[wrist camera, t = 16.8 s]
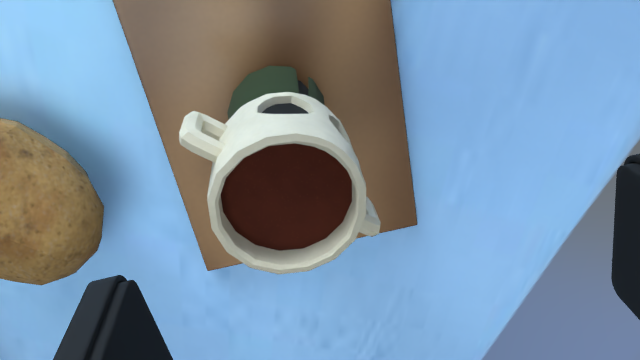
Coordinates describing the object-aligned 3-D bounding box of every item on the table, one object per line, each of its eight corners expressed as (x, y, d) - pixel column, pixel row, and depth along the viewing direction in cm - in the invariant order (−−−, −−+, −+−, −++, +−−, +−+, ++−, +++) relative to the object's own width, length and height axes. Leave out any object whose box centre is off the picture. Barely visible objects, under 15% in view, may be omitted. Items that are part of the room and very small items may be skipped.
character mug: (375, 104, 36) (435, 197, 24) (319, 188, 38) (349, 310, 26) (226, 18, 32) (212, 78, 21) (175, 117, 34) (136, 221, 23)
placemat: (376, -102, 31) (378, -103, 30) (415, 221, 41) (417, 225, 40) (99, -44, 30) (97, -43, 30) (208, 266, 41) (207, 271, 40)
